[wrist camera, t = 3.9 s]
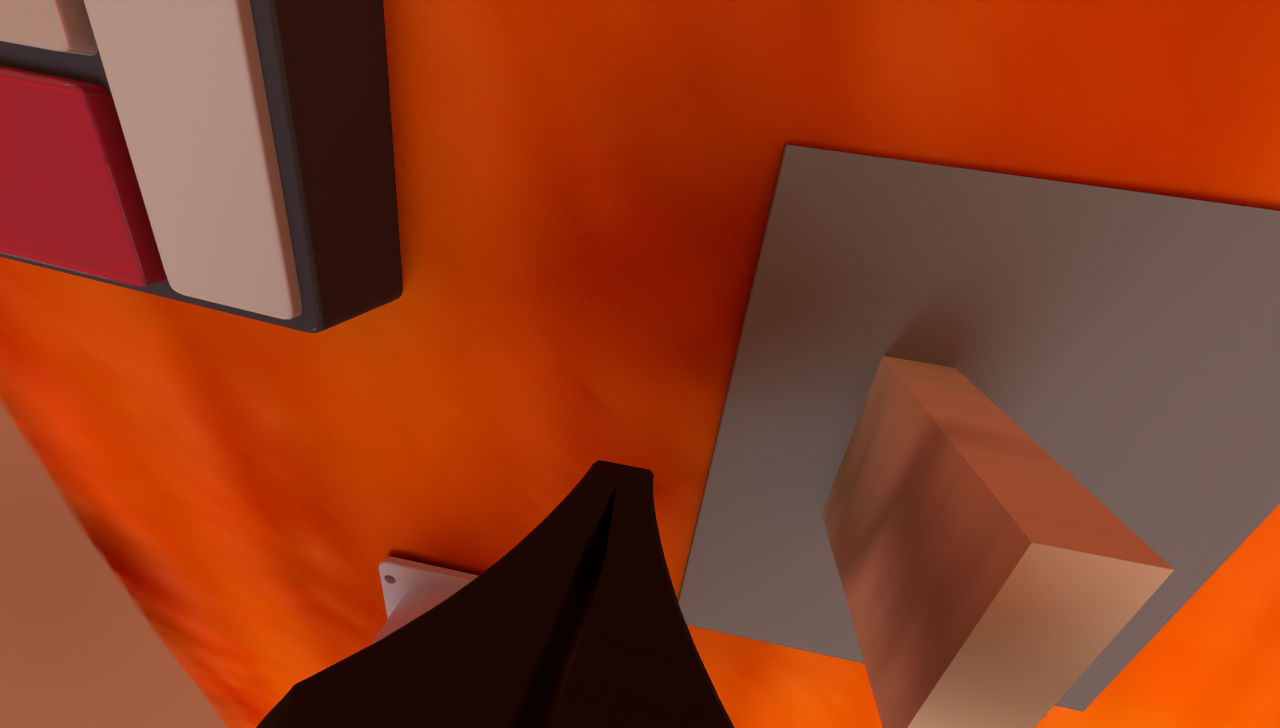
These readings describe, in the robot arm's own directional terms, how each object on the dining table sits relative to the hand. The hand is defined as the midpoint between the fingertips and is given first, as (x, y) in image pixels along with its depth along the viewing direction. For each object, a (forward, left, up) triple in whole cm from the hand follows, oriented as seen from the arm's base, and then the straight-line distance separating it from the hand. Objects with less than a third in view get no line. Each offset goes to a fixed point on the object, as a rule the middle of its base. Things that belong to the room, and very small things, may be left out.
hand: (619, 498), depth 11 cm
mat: (-1, -10, -5) cm, 12 cm away
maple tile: (0, -7, -4) cm, 9 cm away
